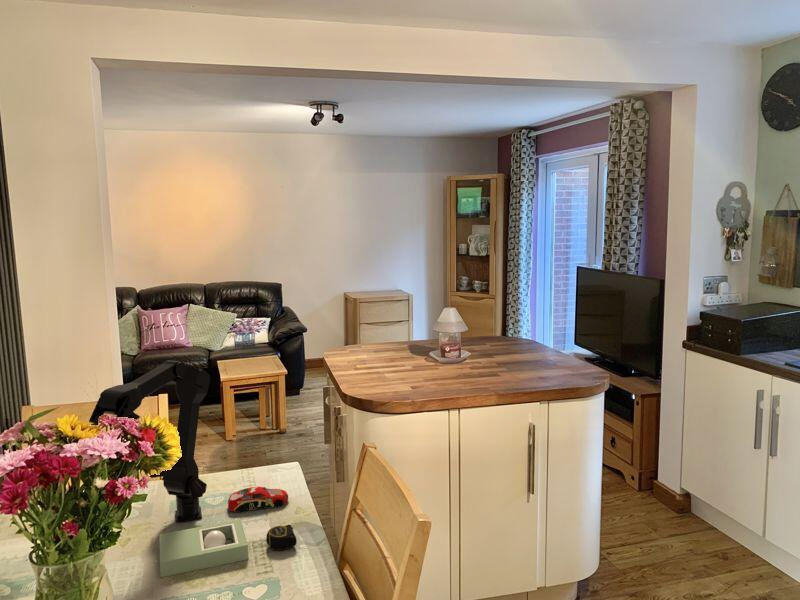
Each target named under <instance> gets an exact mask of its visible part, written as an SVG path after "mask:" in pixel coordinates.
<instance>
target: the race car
mask: <svg viewBox="0 0 800 600" xmlns="http://www.w3.org/2000/svg"><path fill="white" fill-rule="evenodd" d="M287 502H289V495H288V492H287V491H286V490H284V489H281V488H266V486H252V487H250V486H249V487H247V488H243V489H239V490H238V491H236V492H233V493H231V494H229V498H228V500H227V508H228V510H229V511H230V512H237V513H238V512H239V513H246V512H247V511H253V510H262V509H269V508H274V507H275V508H281V507H283V505H286V504H287Z"/></svg>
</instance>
